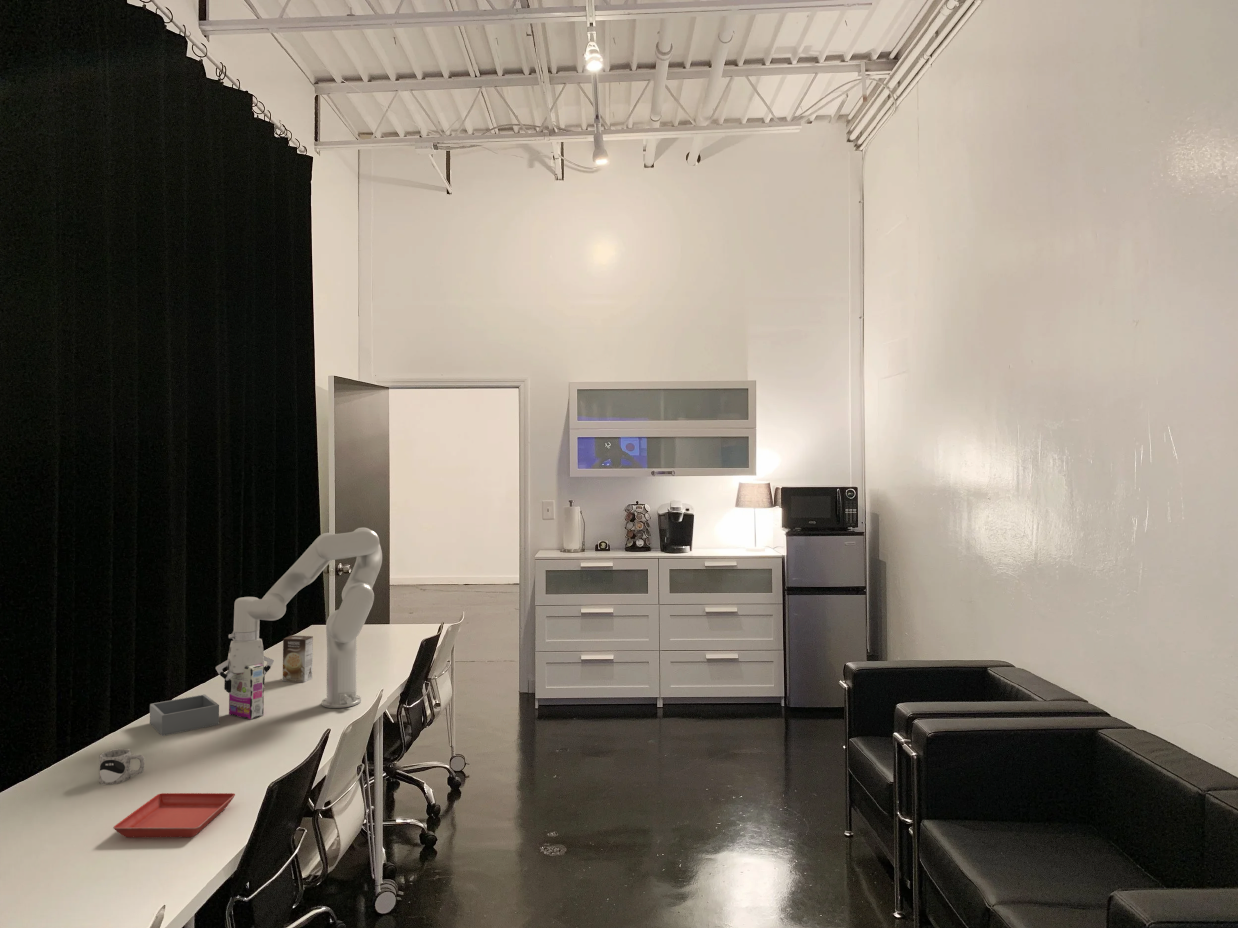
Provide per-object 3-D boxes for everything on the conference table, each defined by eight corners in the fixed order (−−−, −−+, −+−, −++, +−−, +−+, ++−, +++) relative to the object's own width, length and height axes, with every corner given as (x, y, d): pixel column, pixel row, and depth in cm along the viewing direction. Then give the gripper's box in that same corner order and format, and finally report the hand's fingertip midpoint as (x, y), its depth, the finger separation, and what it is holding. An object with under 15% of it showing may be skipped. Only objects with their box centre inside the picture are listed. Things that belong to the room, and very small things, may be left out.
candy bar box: (264, 715, 249) (265, 664, 249) (250, 719, 244) (251, 668, 244) (241, 710, 254) (242, 660, 254) (228, 714, 249) (228, 663, 250)
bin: (218, 724, 240) (219, 704, 240) (161, 735, 229) (162, 715, 230) (204, 712, 252) (204, 694, 252) (149, 723, 241) (149, 703, 241)
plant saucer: (236, 805, 183) (236, 791, 183) (197, 842, 165) (197, 826, 165) (158, 806, 182) (159, 792, 182) (111, 843, 164) (111, 827, 164)
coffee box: (281, 681, 289) (281, 638, 289) (290, 677, 295) (290, 634, 295) (304, 682, 288) (305, 639, 288) (313, 677, 294) (313, 635, 294)
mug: (94, 785, 193) (95, 759, 193) (104, 775, 200) (105, 749, 200) (140, 781, 196) (140, 755, 196) (148, 771, 202) (148, 746, 202)
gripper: (220, 641, 241) (218, 696, 240) (278, 634, 252) (276, 687, 252) (213, 637, 246) (211, 691, 246) (270, 630, 258) (268, 682, 258)
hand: (244, 689), depth 249 cm, fingers open, 9 cm apart
